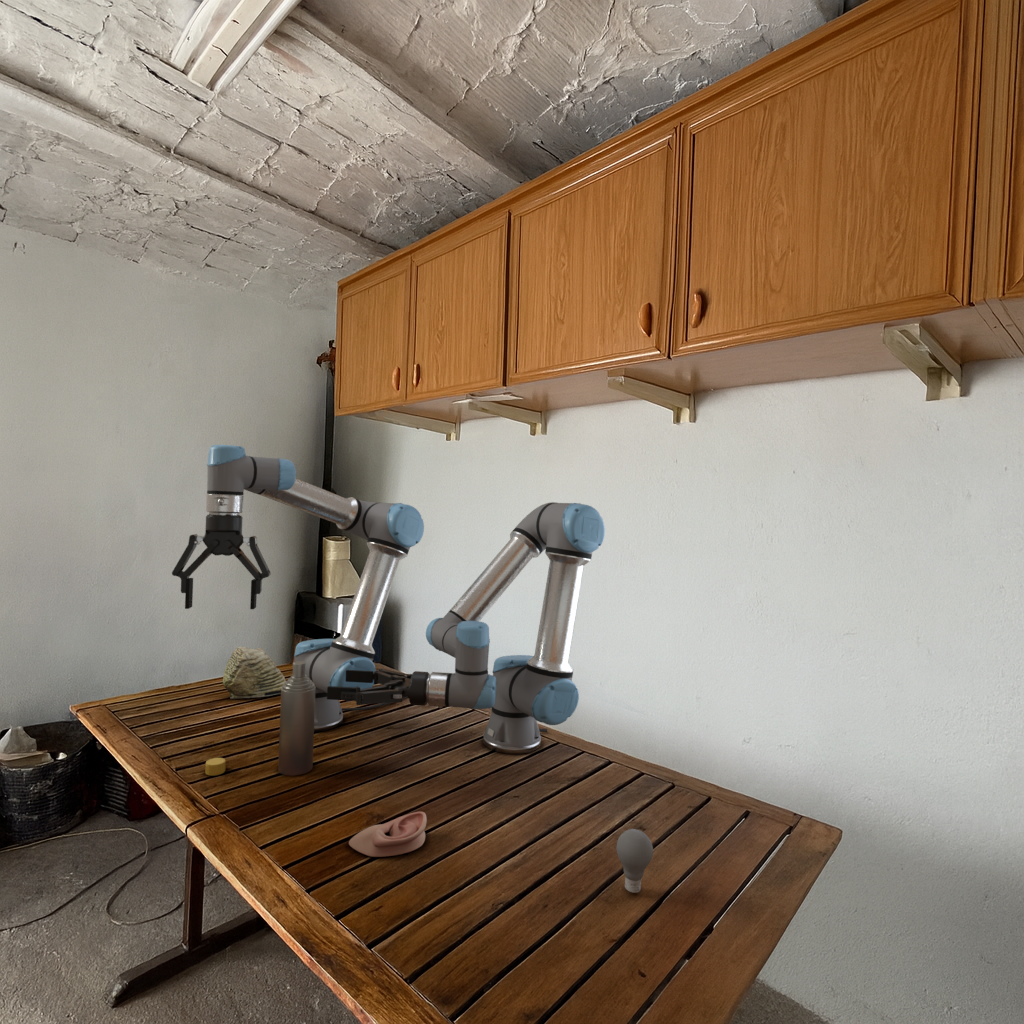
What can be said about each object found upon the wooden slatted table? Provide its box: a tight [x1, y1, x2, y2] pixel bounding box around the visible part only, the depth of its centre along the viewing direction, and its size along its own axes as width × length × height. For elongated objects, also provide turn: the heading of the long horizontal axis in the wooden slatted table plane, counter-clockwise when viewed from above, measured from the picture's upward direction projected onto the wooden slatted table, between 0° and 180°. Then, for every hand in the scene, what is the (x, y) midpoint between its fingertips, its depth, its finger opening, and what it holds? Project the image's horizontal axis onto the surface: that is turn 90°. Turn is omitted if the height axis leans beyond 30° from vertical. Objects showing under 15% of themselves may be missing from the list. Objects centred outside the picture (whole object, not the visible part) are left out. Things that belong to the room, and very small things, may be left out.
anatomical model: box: [348, 811, 428, 858], centre depth 117 cm, size 13×4×12 cm
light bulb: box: [615, 828, 654, 894], centre depth 106 cm, size 6×6×10 cm
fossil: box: [222, 646, 287, 699], centre depth 198 cm, size 9×18×15 cm, turn 132°
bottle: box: [277, 661, 316, 776], centre depth 147 cm, size 8×8×25 cm
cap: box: [204, 757, 227, 777], centre depth 143 cm, size 4×4×2 cm
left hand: (221, 608), depth 143 cm, fingers open, 13 cm apart
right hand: (337, 683), depth 146 cm, fingers open, 13 cm apart
